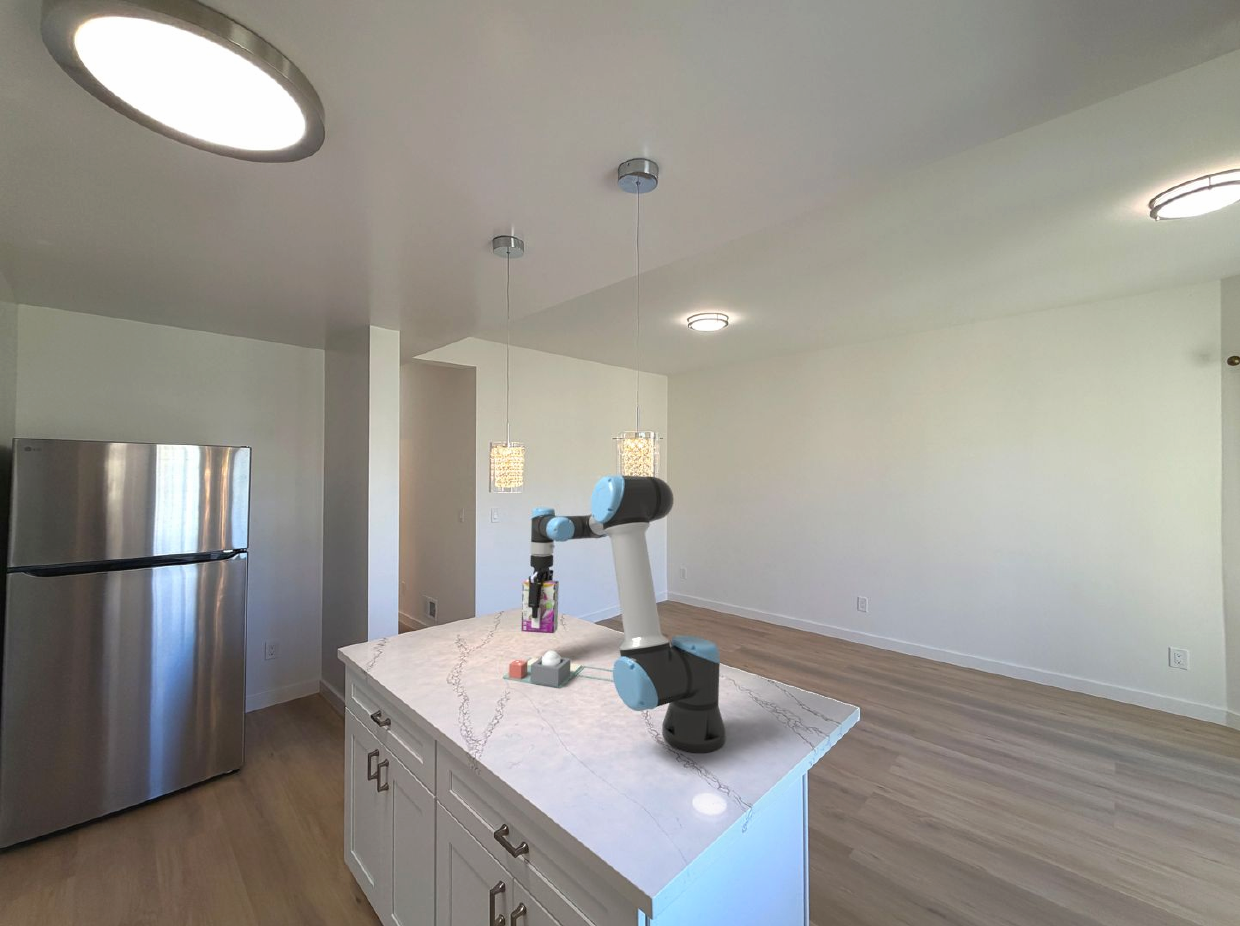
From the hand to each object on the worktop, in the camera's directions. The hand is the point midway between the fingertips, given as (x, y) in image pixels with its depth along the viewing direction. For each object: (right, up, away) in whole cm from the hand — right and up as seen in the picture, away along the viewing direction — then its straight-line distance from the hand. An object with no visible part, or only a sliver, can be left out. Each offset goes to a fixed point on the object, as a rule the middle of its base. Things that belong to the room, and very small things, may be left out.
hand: (540, 624), depth 164 cm
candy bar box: (0, -2, 0) cm, 2 cm away
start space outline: (+20, -13, -7) cm, 25 cm away
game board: (+2, -13, -7) cm, 15 cm away
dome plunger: (+5, -10, -13) cm, 17 cm away
